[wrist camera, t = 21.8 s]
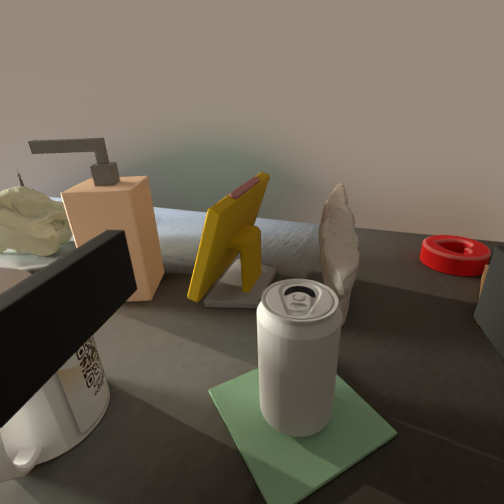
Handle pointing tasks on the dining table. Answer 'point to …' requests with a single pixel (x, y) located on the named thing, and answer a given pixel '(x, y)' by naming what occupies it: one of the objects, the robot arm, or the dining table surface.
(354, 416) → the mat
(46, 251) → the wavy plaster lump
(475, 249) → the decorative ornament
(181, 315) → the dining table surface
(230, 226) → the yellow framed monitor
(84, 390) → the mug
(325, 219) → the sculpture
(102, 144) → the soap dispenser
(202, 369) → the dining table surface
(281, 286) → the beverage can
